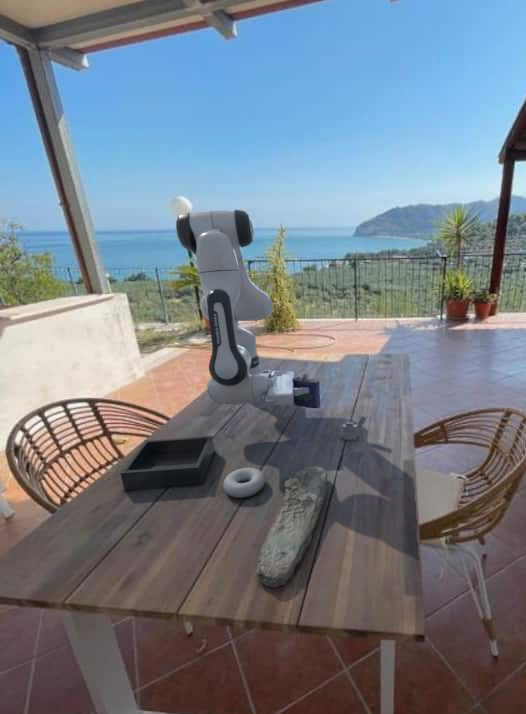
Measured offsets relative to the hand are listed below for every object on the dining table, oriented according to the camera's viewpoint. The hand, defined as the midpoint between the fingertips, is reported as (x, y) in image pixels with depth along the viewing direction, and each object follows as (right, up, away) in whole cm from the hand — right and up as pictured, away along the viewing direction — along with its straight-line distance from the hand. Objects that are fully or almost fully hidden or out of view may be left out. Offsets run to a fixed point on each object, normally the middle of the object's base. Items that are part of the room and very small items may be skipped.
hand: (308, 386), depth 122 cm
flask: (-1, -6, +2) cm, 7 cm away
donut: (-12, -25, -26) cm, 38 cm away
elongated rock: (+2, -29, -37) cm, 48 cm away
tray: (-34, -22, -19) cm, 44 cm away
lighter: (+14, -16, -3) cm, 22 cm away
